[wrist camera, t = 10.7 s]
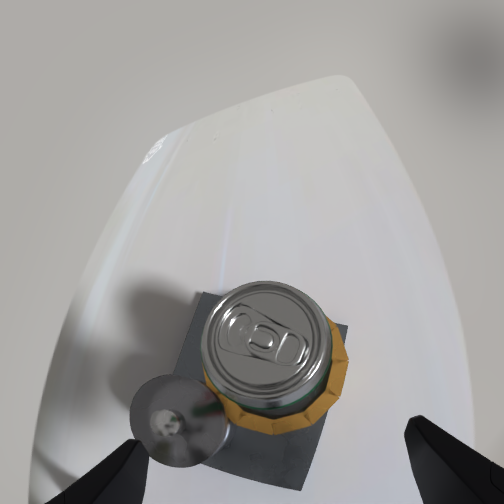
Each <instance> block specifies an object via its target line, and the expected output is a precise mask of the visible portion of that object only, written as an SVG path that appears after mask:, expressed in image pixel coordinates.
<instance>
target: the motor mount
mask: <svg viewBox="0 0 504 504" xmlns="http://www.w3.org/2000/svg"><path fill="white" fill-rule="evenodd" d="M221 298H222V297H221V296H218V295H214V294H210V293H206V292H203V294H202V296H201V299H200V302H199V304H198V307H197V310H196V312H195V315H194V318H193V320H192V323H191V326H190V329H189V331H188V334H187V337H186V340H185V342H184V345H183V348H182V351H181V353H180V356H179V359H178V362H177V365H176V368H175V370H174V373H173V375H163V376H159V377H156V378H153V379H152V380H150V381H148V382H147V383H145V384H144V385H143V386H142V387H141V388H140V389H139V390H138V392H137V393H136V395H135V396H134V398H133V401H132V404H131V408H130V426H131V430H132V433H133V435H134V438H135V439H136V440H140V441H141V442H142V444H143V445H144V447H145V448H146V450H147V451H148V454H149V456H150V457H151V458H153V459H154V460H156V461H157V462H159V463H162V464H164V465H167V466H171V467H178V468H184V467H191V466H195V465H197V464H200V463H201V464H204V465H207V466H209V467H212V468H215V469H218V470H221V471H224V472H227V473H230V474H233V475H236V476H240V477H243V478H247V479H250V480H254V481H258V482H261V483H265V484H270V485H274V486H278V487H283V488H288V489H293V490H298V491H301V490H302V487H303V484H304V482H305V479H306V476H307V474H308V471H309V468H310V465H311V463H312V460H313V457H314V454H315V451H316V448H317V445H318V442H319V439H320V436H321V432H322V429H323V426H324V423H325V419H326V416H327V412H328V409H329V408H330V407H331V406H332V405H333V404H334V403H335V402H336V401H337V400H338V399H339V396H341V392H342V388H343V384H344V380H345V375H346V371H347V367H348V362H349V361H348V360H349V359H348V356H347V353H346V350H345V347H344V343H345V339H346V334H347V329H348V326H347V325H342V324H337V323H334V322H332V321H331V320H330V319H329V318H328V317H327V316H326V315H325V316H326V318H327V320H328V323H329V325H330V328H331V333H332V339H333V350H332V358H331V361H330V365H329V368H328V370H327V372H326V374H325V376H324V378H323V379H322V381H321V382H320V383H319V385H318V386H317V387H316V388H315V389H314V390H313V391H312V392H311V393H310V394H309V395H307V396H306V397H305V398H303V399H302V400H300V401H298V402H296V403H294V404H292V405H290V406H286V407H283V408H279V409H273V410H258V409H252V408H247V407H244V406H241V405H238V404H236V403H235V402H233V401H231V400H229V399H228V398H226V397H225V396H224V395H222V394H221V393H220V392H219V391H218V390H217V389H216V388H215V387H214V386H213V384H212V383H211V381H210V380H209V378H208V376H207V374H206V372H205V370H204V367H203V363H202V360H201V352H200V344H201V336H202V331H203V328H204V325H205V323H206V320H207V318H208V315H209V314H210V312H211V310H212V309H213V307H214V306H215V305H216V304H217V302H218V301H219V300H220V299H221Z"/></svg>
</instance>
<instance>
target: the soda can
mask: <svg viewBox="0 0 504 504" xmlns="http://www.w3.org/2000/svg"><path fill="white" fill-rule="evenodd" d="M332 350H333V339H332V333H331V328H330V325H329V323H328V320H327V318H326V316H325V314H324V313H323V311H322V309H321V308H320V307H319V306H318V305H317V303H316V302H315V301H314V300H313V299H311V298H310V297H309V296H308V295H306V294H305V293H303V292H302V291H300V290H298V289H296V288H294V287H292V286H289V285H287V284H283V283H280V282H274V281H257V282H252V283H248V284H245V285H242V286H239V287H237V288H235V289H233V290H232V291H230V292H229V293H227V294H226V295H225V296H224V297H222V298H221V299H220V300H219V301H218V302H217V304H216V305H215V306H214V307H213V309H212V310H211V312H210V314H209V315H208V318H207V320H206V323H205V325H204V328H203V331H202V336H201V344H200V352H201V360H202V363H203V367H204V370H205V372H206V374H207V376H208V378H209V380H210V381H211V383H212V384H213V386H214V387H215V388H216V389H217V390H218V391H219V392H220V393H221V394H222V395H224V396H225V397H226V398H228V399H229V400H231V401H233V402H235V403H236V404H238V405H241V406H244V407H247V408H252V409H258V410H273V409H279V408H283V407H286V406H290V405H292V404H294V403H296V402H298V401H300V400H302V399H303V398H305V397H306V396H307V395H309V394H310V393H311V392H312V391H313V390H314V389H315V388H316V387H317V386H318V385H319V383H320V382H321V381H322V379H323V378H324V376H325V374H326V372H327V370H328V368H329V365H330V361H331V358H332Z"/></svg>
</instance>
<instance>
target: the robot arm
mask: <svg viewBox="0 0 504 504" xmlns="http://www.w3.org/2000/svg"><path fill="white" fill-rule="evenodd" d="M404 438H405V442H406V446H407V450H408V455H409V459H410V463H411V468H412V472H413V475H414V478H415V481H416V483H417V486H418V489H419V492H420V495H421V498H422V501H423V504H504V468H502V467H500V466H499V465H497V464H495V463H494V462H491V461H490V460H489V459H487V458H486V457H484V456H483V455H481V454H479V453H478V452H476V451H475V450H473V449H472V448H470V447H469V446H467V445H466V444H464V443H462V442H461V441H459V440H458V439H456V438H455V437H453V436H452V435H450V434H449V433H447V432H446V431H444V430H443V429H441V428H440V427H438V426H437V425H435V424H434V423H432V422H431V421H429V420H428V419H427V418H425V417H424V416H422V415H418V416H415V417H412V418H410V419H409V421H408V424H407V427H406V429H405V432H404ZM148 463H149V454H148V451H147V450H146V448H145V447H144V445H143V444H142V442H141V441H140V440H136V439H128V440H127V441H125V442H124V443H123V444H122V445H121V446H119V447H118V448H117V449H116V450H115V451H113V452H112V453H111V454H110V455H109V456H107V457H106V458H105V459H104V460H102V461H101V462H100V463H99V464H98V465H96V466H95V467H94V468H93V469H91V470H90V471H89V472H87V473H86V474H85V475H84V476H82V477H81V478H80V479H78V480H77V481H76V482H75V483H73V484H72V485H71V486H69V487H68V488H67V489H65V491H62V492H61V493H60V494H58V495H57V496H56V497H54V498H53V499H51V500H50V501H48V502H46V503H45V504H142V501H143V497H144V493H145V487H146V479H147V471H148Z"/></svg>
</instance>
